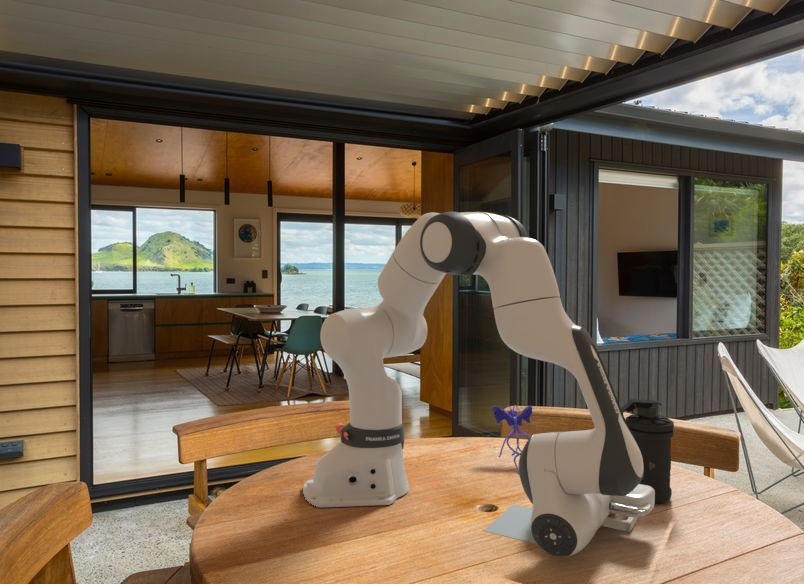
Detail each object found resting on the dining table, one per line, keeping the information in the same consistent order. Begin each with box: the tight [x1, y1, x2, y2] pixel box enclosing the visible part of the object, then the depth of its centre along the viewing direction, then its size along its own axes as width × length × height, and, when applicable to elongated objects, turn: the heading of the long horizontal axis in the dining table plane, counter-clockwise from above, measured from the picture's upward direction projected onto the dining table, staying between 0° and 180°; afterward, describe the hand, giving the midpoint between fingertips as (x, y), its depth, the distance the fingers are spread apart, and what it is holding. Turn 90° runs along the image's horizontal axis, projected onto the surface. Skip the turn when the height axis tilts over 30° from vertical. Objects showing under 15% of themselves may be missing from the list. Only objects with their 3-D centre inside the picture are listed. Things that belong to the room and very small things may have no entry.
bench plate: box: [482, 503, 537, 545], centre depth 108 cm, size 14×14×2 cm
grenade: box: [620, 398, 675, 505], centre depth 125 cm, size 9×11×20 cm
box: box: [600, 516, 639, 533], centre depth 114 cm, size 13×13×3 cm
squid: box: [487, 404, 533, 473], centre depth 154 cm, size 14×35×18 cm
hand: (603, 477), depth 115 cm, fingers closed on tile, 4 cm apart
